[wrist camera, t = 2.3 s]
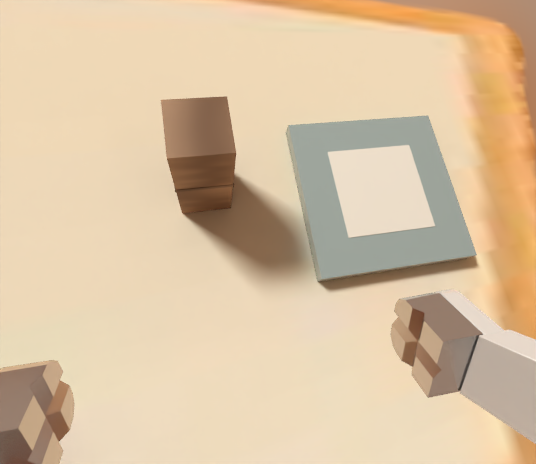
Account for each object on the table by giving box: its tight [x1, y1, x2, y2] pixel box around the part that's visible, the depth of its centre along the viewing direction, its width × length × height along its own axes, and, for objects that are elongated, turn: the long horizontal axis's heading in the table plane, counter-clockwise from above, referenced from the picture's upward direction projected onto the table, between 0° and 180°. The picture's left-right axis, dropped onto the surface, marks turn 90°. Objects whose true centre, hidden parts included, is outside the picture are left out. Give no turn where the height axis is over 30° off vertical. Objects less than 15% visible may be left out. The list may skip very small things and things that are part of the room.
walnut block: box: [161, 97, 236, 213], centre depth 25 cm, size 4×4×9 cm
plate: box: [286, 116, 477, 282], centre depth 31 cm, size 14×14×1 cm
